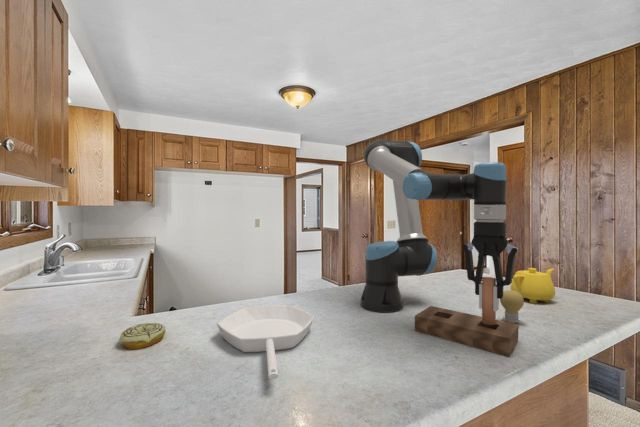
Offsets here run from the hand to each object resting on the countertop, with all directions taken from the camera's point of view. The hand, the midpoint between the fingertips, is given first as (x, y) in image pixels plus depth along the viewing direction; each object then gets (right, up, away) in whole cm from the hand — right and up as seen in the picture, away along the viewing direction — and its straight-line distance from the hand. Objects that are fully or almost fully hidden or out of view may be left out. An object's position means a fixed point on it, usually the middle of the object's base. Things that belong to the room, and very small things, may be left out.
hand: (488, 308), depth 82 cm
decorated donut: (-93, -9, 0) cm, 93 cm away
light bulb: (+15, -9, +15) cm, 23 cm away
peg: (0, -4, 0) cm, 4 cm away
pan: (-58, -9, -3) cm, 59 cm away
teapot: (+39, -9, +39) cm, 56 cm away
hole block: (-5, -9, +4) cm, 11 cm away
